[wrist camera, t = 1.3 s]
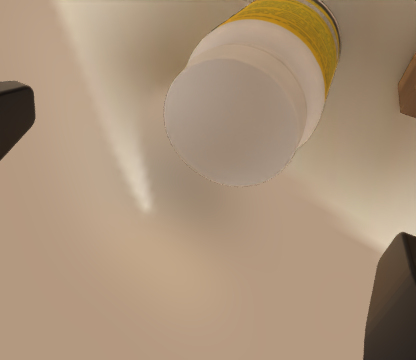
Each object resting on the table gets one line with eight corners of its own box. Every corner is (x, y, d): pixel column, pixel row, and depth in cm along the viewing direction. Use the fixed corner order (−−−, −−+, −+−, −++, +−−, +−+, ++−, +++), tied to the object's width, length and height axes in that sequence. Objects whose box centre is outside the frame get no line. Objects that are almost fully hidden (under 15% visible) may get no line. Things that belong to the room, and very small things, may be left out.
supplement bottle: (247, -25, 16) (158, 16, 10) (360, 3, 16) (343, 69, 9) (225, 82, 19) (145, 168, 13) (319, 111, 19) (284, 220, 12)
